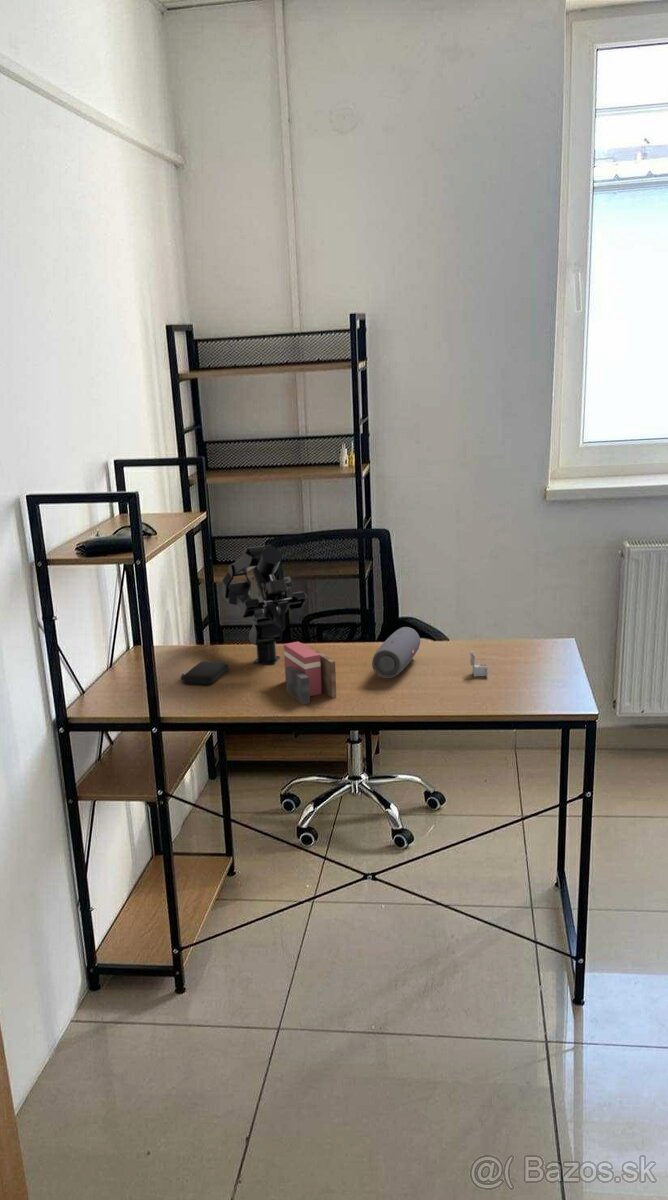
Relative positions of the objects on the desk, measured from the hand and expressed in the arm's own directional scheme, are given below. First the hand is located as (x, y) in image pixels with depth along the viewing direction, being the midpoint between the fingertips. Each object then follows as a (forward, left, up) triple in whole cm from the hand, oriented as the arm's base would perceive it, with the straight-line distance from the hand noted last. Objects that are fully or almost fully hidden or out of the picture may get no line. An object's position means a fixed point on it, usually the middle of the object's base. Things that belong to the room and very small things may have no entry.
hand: (283, 629), depth 254 cm
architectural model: (-12, +56, -14) cm, 59 cm away
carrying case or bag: (+5, -23, -14) cm, 27 cm away
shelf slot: (+14, +12, -13) cm, 23 cm away
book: (+9, +8, -14) cm, 18 cm away
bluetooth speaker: (-9, +31, -14) cm, 35 cm away
